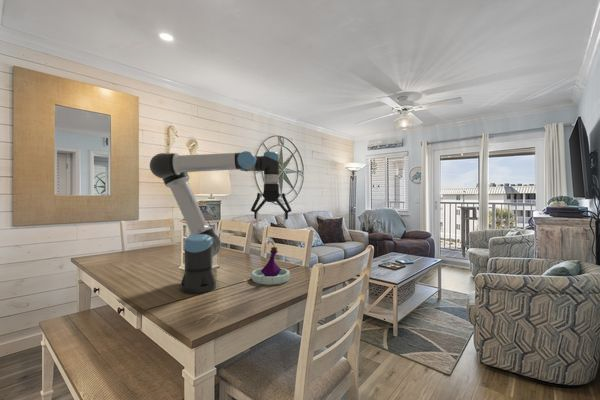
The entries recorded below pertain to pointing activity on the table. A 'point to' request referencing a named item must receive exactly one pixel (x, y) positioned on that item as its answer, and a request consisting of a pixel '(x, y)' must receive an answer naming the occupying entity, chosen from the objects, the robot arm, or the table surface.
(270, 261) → the perfume bottle
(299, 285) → the table surface
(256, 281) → the round tray
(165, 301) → the table surface
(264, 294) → the table surface
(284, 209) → the robot arm
